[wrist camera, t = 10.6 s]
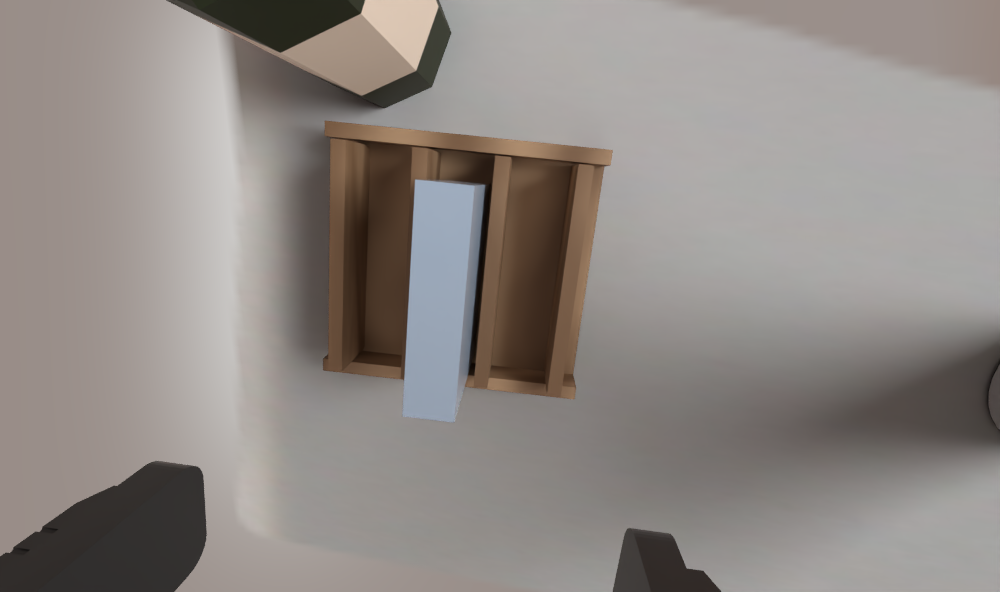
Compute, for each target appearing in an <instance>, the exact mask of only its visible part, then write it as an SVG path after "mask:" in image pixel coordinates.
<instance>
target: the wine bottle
mask: <svg viewBox="0 0 1000 592" xmlns="http://www.w3.org/2000/svg"><path fill="white" fill-rule="evenodd" d="M167 1H169V2H171V3H173V4H175V5H177V6H179V7H181V8H183V9H184V10H187V11H188V12H191V13H193V14H194V15H196V16H199V17H200V18H202V19H204V20H206V21H208V22H210V23H212V24H214V25H216V26H218V27H220V28H222V29H224V30H226V31H228V32H230V33H232V34H234V35H236V36H238V37H240V38H242V39H244V40H246V41H248V42H250V43H252V44H254V45H255V46H257V47H259V48H261V49H263V50H265V51H267V52H269V53H271V54H273V55H275V56H277V57H279V58H281V59H283V60H285V61H287V62H289V63H291V64H293V65H295V66H297V67H299V68H301V69H303V70H305V71H307V72H309V73H311V74H313V75H315V76H317V77H319V78H321V79H323V80H325V81H327V82H328V83H330V84H332V85H334V86H336V87H339V88H341V89H343V90H345V91H348V92H350V93H352V94H354V95H357V96H359V97H361V98H363V99H366V100H368V101H370V102H372V103H375V104H377V105H379V106H381V107H384V108H386V107H388V106H390V105H393V104H395V103H397V102H399V101H402V100H404V99H406V98H408V97H410V96H413V95H415V94H417V93H419V92H421V91H424V90H426V89H428V88H430V87H432V85H433V82H434V79H435V77H436V74H437V71H438V68H439V66H440V63H441V60H442V57H443V54H444V52H445V49H446V46H447V43H448V40H449V38H450V35H451V31H450V28H449V26H448V23H447V20H446V18H445V15H444V12H443V10H442V7H441V5H440V2H439V0H167Z"/></svg>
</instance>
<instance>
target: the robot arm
mask: <svg viewBox="0 0 1000 592" xmlns="http://www.w3.org/2000/svg"><path fill="white" fill-rule="evenodd" d="M988 405H989V409H990V413H991V417H992V419H993V421H994V422H995V424H996V426H997V428H998V429H999V430H1000V365H999V366H998V368H997V370H996V372H995V374H994V376H993V378H992V382H991V385H990V389H989V403H988ZM203 482H204V481H203V474H202V471H201V470H200V468H198V467H196V466H190V465H183V464H176V463H168V462H161V461H155V462H151V463H149V464H147V465H146V466H144V467H143V468H141V469H140V470H139V471H137V472H136V473H134V474H133V475H132V476H130V477H129V478H128V479H126V480H125V481H124V482H122V483H121V484H119V485H118V486H113V487H110V488H108V489H106V490H104V491H102V492H99V493H97V494H95V495H93V496H91V497H89V498H87V499H84V500H82V501H80V502H78V503H76V504H74V505H73V506H71V507H70V508H69V509H67V510H66V511H65V512H63V513H62V514H60V515H59V516H58V517H56V518H54V519H53V520H52V521H50V522H49V523H47V524H46V525H44V526H43V528H42V530H41V531H40V532H35V533H33V534H32V535H30V536H29V537H27V538H26V539H25V540H23V541H22V542H20V543H19V544H18V545H16V546H15V547H14V548H13V551H12V552H11V553H5V554H3V555H2V556H0V592H174V591H175V590H176V589H177V588H178V587H179V586H180V584H181V583H182V582H183V581H184V580H185V579H186V577H188V575H189V574H190V573H191V572H192V570H193V569H194V567H195V566H196V564H197V563H198V561H199V559H200V557H201V554H202V552H203V549H204V546H205V542H206V516H205V498H204V483H203ZM613 592H721V591H720V590H719V589H718V587H717V586H716V585H715V584H714V583H713V582H712V581H711V579H710V578H709V577H708V576H707V575H706V574H705V573H704V571H700V570H693V569H686V566H685V564H684V561H683V559H682V556H681V554H680V551H679V549H678V546H677V544H676V541H675V539H674V538H673V536H672V535H671V534H668V533H661V532H653V531H646V530H639V529H632V528H628V529H627V531H626V533H625V536H624V540H623V545H622V549H621V554H620V559H619V564H618V569H617V573H616V578H615V583H614V588H613Z"/></svg>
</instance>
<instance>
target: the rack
mask: <svg viewBox="0 0 1000 592" xmlns="http://www.w3.org/2000/svg"><path fill="white" fill-rule="evenodd" d="M325 136H328V137H332V138H336V139H331V138H330V230H329V337H328V355H327V356H326V357H325V358H323V370H325V371H333V372H342V373H351V374H359V375H368V376H377V377H385V378H394V379H403V380H404V377H405V359H406V340H407V322H408V303H409V285H410V267H411V248H412V230H413V211H414V193H415V179H417V180H454V181H463V182H473V183H482V184H490V190H489V200H488V211H487V222H486V232H485V243H484V254H483V265H482V275H481V286H480V297H479V307H478V318H477V329H476V339H475V350H474V356H473V359H472V363H471V366H470V370H469V373H468V377H467V380H466V384H465V387H472V388H481V389H489V390H498V391H507V392H515V393H524V394H533V395H541V396H550V397H559V398H567V399H574V398H575V391H576V385H575V381H574V377H573V370H574V363H575V357H576V350H577V343H578V337H579V330H580V323H581V317H582V310H583V304H584V297H585V290H586V284H587V277H588V271H589V264H590V257H591V251H592V244H593V238H594V231H595V224H596V218H597V211H598V204H599V198H600V191H601V185H602V178H603V171H604V166H609V165H611V158H612V152H613V150H606V149H597V148H587V147H577V146H567V145H557V144H548V143H538V142H528V141H518V140H509V139H499V138H489V137H479V136H469V135H460V134H450V133H440V132H430V131H420V130H411V129H401V128H391V127H381V126H371V125H362V124H352V123H342V122H332V121H325Z"/></svg>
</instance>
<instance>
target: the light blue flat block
mask: <svg viewBox="0 0 1000 592" xmlns="http://www.w3.org/2000/svg"><path fill="white" fill-rule="evenodd" d="M489 190H490V184H482V183H473V182H463V181H454V180H417V179H415V193H414V211H413V230H412V248H411V267H410V285H409V303H408V322H407V340H406V359H405V377H404V395H403V414H402V416H404V417H412V418H421V419H429V420H438V421H446V422H455V418H456V415H457V412H458V408H459V405H460V401H461V398H462V394H463V391H464V387H465V384H466V380H467V377H468V373H469V370H470V366H471V363H472V359H473V356H474V350H475V339H476V329H477V318H478V307H479V297H480V286H481V275H482V265H483V254H484V243H485V232H486V222H487V211H488V200H489Z"/></svg>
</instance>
